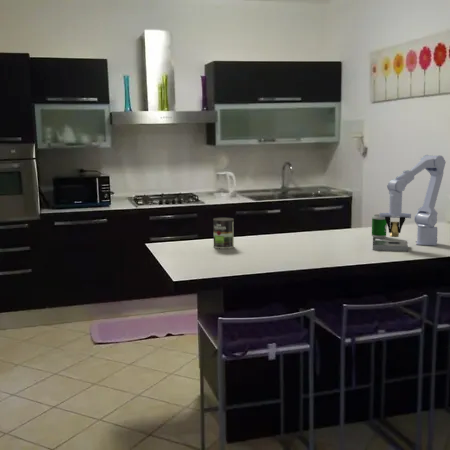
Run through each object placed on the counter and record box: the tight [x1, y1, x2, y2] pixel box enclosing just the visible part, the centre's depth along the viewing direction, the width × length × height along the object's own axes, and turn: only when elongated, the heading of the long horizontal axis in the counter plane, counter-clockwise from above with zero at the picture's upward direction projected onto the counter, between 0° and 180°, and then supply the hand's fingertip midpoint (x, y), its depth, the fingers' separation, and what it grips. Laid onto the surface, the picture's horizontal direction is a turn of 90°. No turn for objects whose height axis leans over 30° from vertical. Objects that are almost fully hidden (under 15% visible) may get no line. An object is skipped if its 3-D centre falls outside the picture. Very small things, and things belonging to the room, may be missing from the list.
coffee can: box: [212, 217, 235, 250], centre depth 280 cm, size 10×10×14 cm
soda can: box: [371, 213, 388, 240], centre depth 298 cm, size 8×8×12 cm
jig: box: [372, 236, 409, 252], centre depth 272 cm, size 16×12×4 cm
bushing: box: [389, 221, 400, 238], centre depth 271 cm, size 4×4×7 cm
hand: (394, 232), depth 271 cm, fingers closed on bushing, 4 cm apart
